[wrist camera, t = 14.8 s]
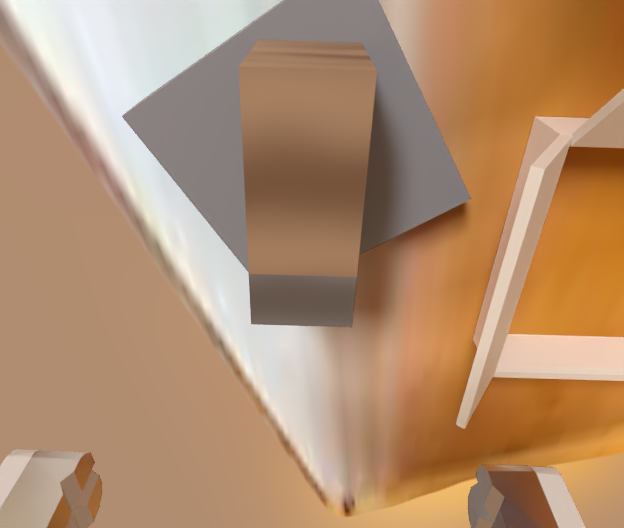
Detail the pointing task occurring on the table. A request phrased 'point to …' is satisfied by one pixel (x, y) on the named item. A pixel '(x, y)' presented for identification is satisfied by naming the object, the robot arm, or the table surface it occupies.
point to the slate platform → (228, 131)
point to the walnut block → (305, 177)
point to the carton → (516, 262)
